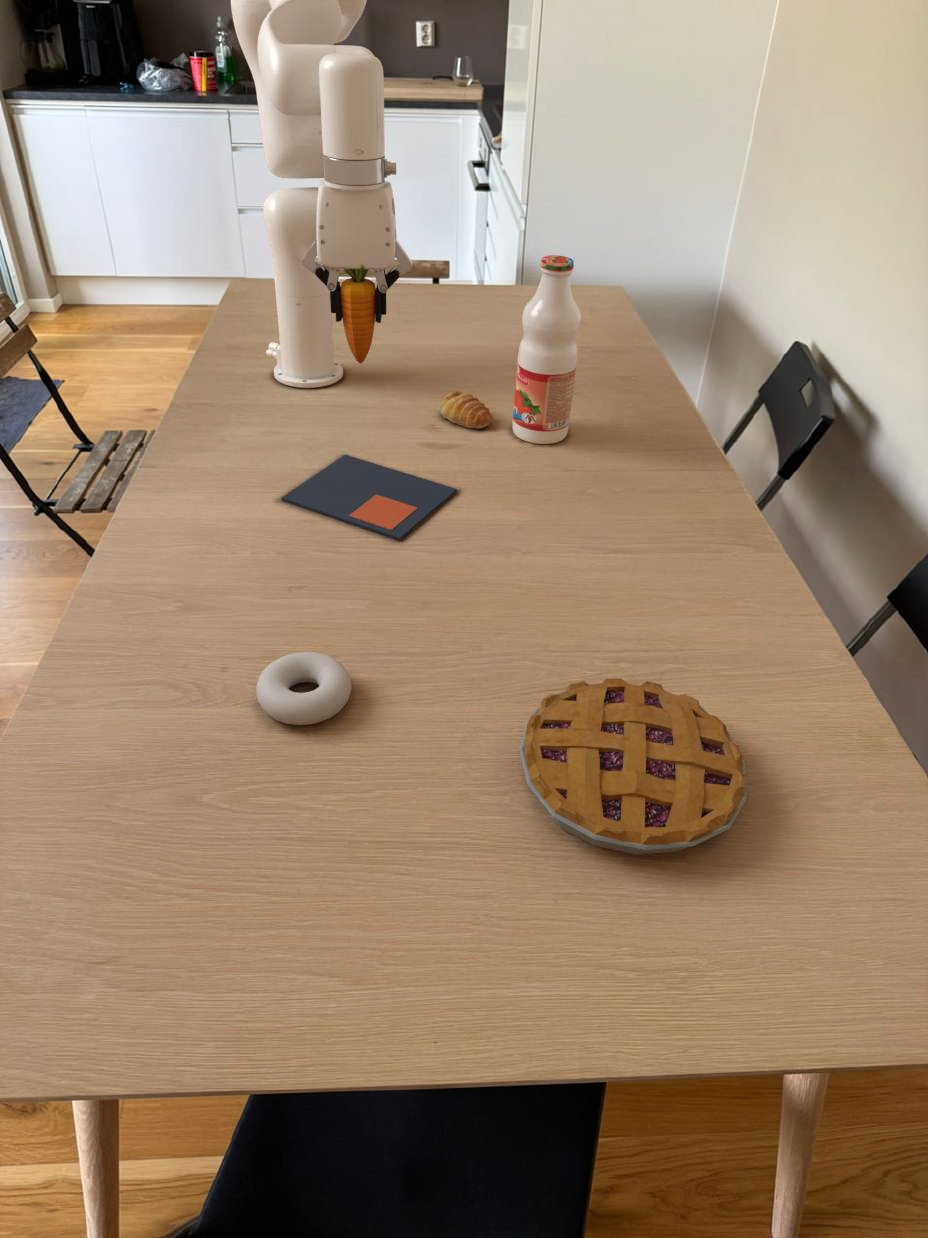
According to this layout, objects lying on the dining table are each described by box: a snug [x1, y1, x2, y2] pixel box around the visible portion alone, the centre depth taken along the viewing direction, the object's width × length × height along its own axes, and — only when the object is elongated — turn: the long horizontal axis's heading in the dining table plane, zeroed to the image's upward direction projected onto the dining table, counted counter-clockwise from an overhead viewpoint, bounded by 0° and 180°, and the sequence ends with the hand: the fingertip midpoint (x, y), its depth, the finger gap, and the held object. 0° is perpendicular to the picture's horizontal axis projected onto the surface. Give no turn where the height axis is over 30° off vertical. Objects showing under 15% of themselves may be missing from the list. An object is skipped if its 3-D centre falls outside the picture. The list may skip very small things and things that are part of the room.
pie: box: [519, 678, 747, 856], centre depth 86 cm, size 22×22×5 cm
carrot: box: [340, 264, 376, 364], centre depth 120 cm, size 5×5×15 cm
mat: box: [280, 454, 458, 542], centre depth 130 cm, size 20×16×1 cm
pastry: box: [439, 390, 493, 430], centre depth 150 cm, size 9×7×4 cm
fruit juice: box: [511, 254, 582, 445], centre depth 140 cm, size 9×9×28 cm
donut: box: [255, 651, 352, 726], centre depth 94 cm, size 10×4×10 cm
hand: (359, 317), depth 121 cm, fingers closed on carrot, 4 cm apart
